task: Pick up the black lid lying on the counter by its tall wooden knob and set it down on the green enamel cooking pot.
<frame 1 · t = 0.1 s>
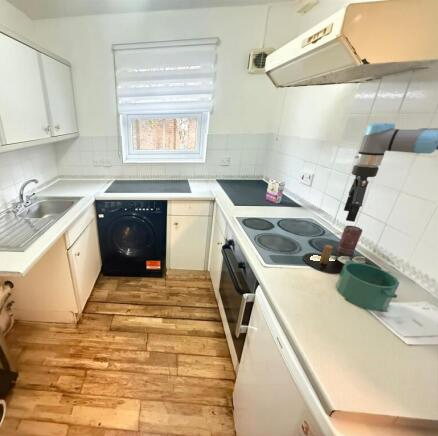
hand: (348, 215, 101), 21 cm above the worktop, tool pointing down, fingers open, 13 cm apart
can: (344, 254, 113), on the worktop
pot: (360, 295, 86), on the worktop
candy bar box: (272, 201, 185), on the worktop
lid: (323, 263, 105), point 1 cm above the worktop
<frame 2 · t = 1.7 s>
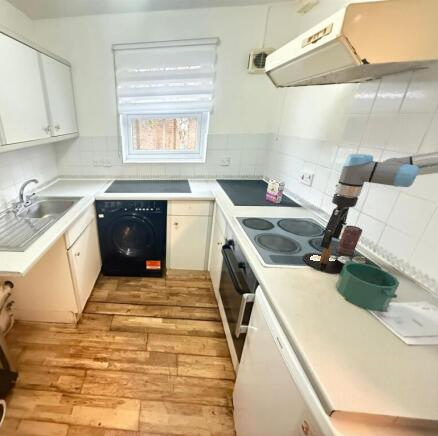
hand: (329, 242, 101), 11 cm above the worktop, tool pointing down, fingers open, 13 cm apart
nothing on the worktop moved.
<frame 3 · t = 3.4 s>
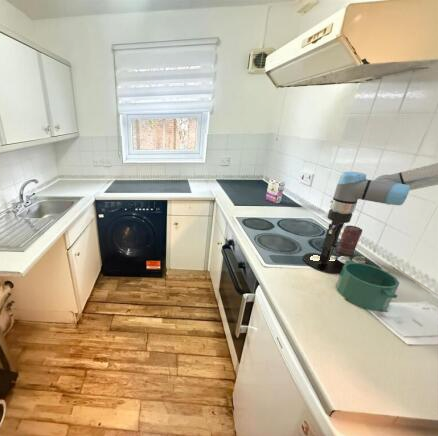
hand: (324, 260, 104), 2 cm above the worktop, tool pointing down, fingers closed on lid, 3 cm apart
lid: (323, 263, 105), point 1 cm above the worktop, touching gripper
everything else where it was.
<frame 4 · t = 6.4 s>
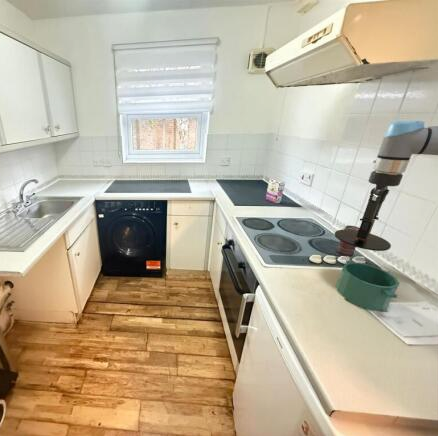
hand: (362, 236, 86), 20 cm above the worktop, tool pointing down, fingers closed on lid, 3 cm apart
lid: (361, 240, 86), point 19 cm above the worktop, touching gripper
everything else where it was.
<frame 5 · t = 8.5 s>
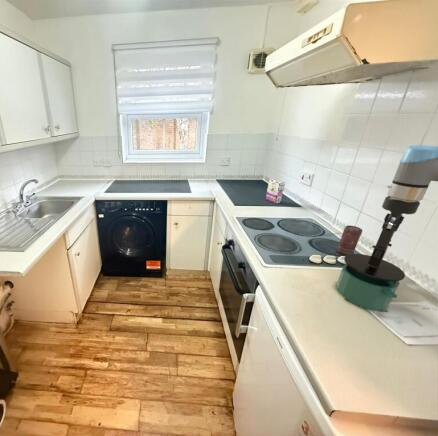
hand: (374, 263, 81), 14 cm above the worktop, tool pointing down, fingers closed on lid, 3 cm apart
lid: (372, 267, 82), point 12 cm above the worktop, touching gripper
everything else where it was.
when the fingers open (11 cm above the worktop, at t = 9.5 s): lid stays where it is, resting on pot.
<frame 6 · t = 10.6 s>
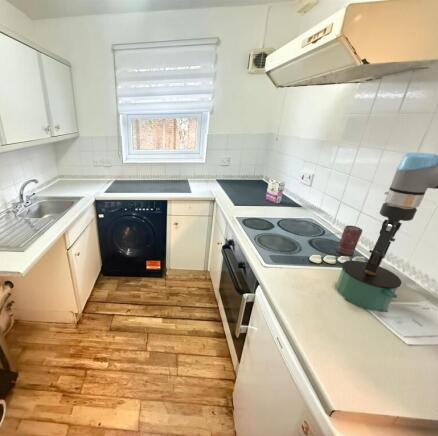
hand: (374, 263, 81), 14 cm above the worktop, tool pointing down, fingers open, 13 cm apart
lid: (369, 274, 83), point 9 cm above the worktop, touching pot
everything else where it was.
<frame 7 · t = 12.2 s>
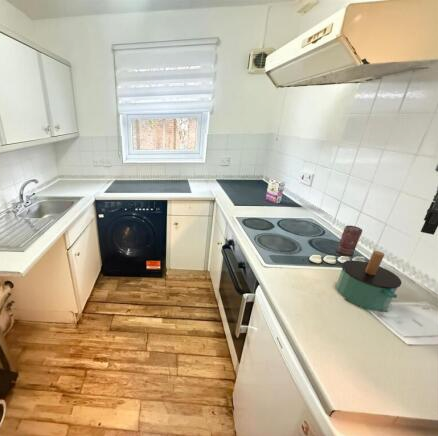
hand: (428, 226, 76), 28 cm above the worktop, tool pointing down, fingers open, 13 cm apart
nothing on the worktop moved.
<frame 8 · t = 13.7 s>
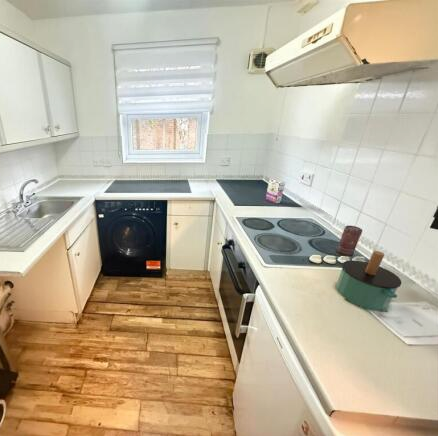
hand: (437, 223, 76), 29 cm above the worktop, tool pointing down, fingers open, 13 cm apart
nothing on the worktop moved.
at the end: lid 0.1 cm off-centre on the pot, point 9.5 cm above the pot's base; lid tilted 0°; the gripper is holding nothing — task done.
